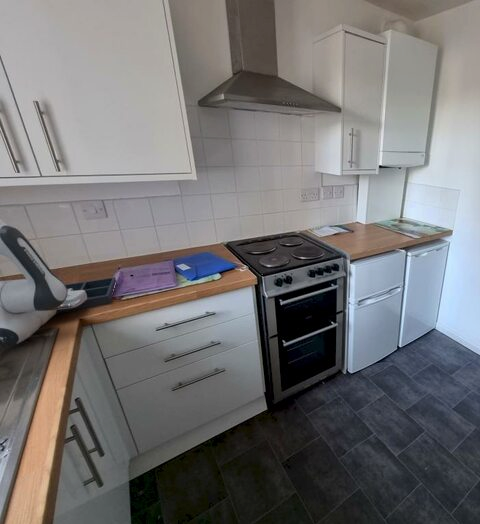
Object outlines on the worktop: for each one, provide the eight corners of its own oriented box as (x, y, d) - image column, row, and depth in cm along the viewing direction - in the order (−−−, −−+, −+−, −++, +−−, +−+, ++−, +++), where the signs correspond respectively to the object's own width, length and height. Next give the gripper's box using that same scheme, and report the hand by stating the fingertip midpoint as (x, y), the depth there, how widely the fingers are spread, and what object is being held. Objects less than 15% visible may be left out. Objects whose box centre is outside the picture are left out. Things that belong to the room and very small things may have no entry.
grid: (40, 317, 103) (37, 308, 102) (57, 294, 119) (54, 286, 118) (110, 304, 113) (108, 295, 111) (117, 284, 128) (115, 277, 127)
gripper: (72, 297, 98) (92, 280, 110) (-9, 305, 92) (21, 286, 104) (78, 314, 100) (97, 295, 113) (-1, 323, 94) (28, 302, 107)
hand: (60, 291), depth 108 cm, fingers open, 5 cm apart
